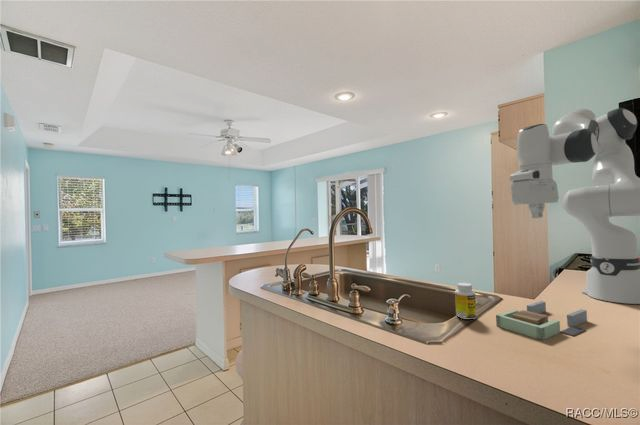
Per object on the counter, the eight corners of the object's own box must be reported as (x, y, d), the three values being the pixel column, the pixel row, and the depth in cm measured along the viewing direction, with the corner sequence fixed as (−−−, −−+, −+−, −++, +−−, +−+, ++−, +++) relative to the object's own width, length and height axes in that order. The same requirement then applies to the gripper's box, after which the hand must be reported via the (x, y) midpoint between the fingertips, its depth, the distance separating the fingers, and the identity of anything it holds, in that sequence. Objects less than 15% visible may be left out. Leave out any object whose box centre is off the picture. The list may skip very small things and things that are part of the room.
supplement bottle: (469, 322, 87) (468, 287, 87) (452, 317, 91) (450, 284, 91) (480, 318, 90) (478, 284, 90) (462, 313, 94) (461, 281, 94)
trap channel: (531, 308, 96) (531, 298, 96) (599, 324, 81) (599, 313, 81) (487, 322, 86) (486, 312, 86) (555, 344, 70) (554, 331, 70)
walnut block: (523, 324, 84) (523, 310, 84) (548, 330, 79) (547, 315, 79) (512, 329, 81) (511, 314, 81) (537, 336, 76) (536, 320, 76)
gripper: (541, 176, 103) (544, 216, 103) (506, 176, 94) (508, 219, 94) (563, 174, 97) (565, 216, 97) (527, 173, 88) (530, 219, 88)
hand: (537, 218), depth 95 cm, fingers closed
